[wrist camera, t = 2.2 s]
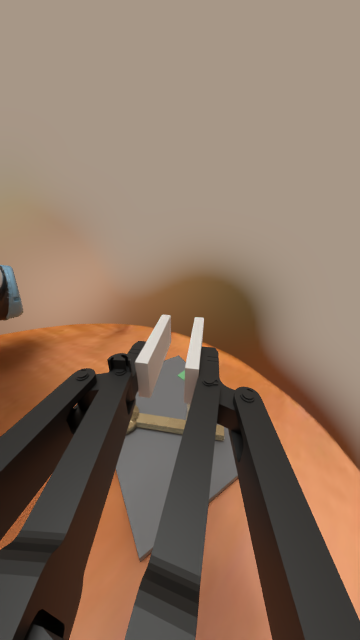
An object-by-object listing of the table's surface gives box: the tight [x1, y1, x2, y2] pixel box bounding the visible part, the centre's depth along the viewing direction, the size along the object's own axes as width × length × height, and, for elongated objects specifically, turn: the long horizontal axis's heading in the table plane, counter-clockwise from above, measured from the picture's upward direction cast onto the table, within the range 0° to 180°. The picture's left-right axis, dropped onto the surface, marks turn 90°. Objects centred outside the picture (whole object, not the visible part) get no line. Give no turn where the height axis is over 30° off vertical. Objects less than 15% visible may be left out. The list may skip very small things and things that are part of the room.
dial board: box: [116, 356, 238, 562], centre depth 33 cm, size 26×20×1 cm
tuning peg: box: [126, 403, 224, 441], centre depth 27 cm, size 18×5×14 cm, turn 81°
